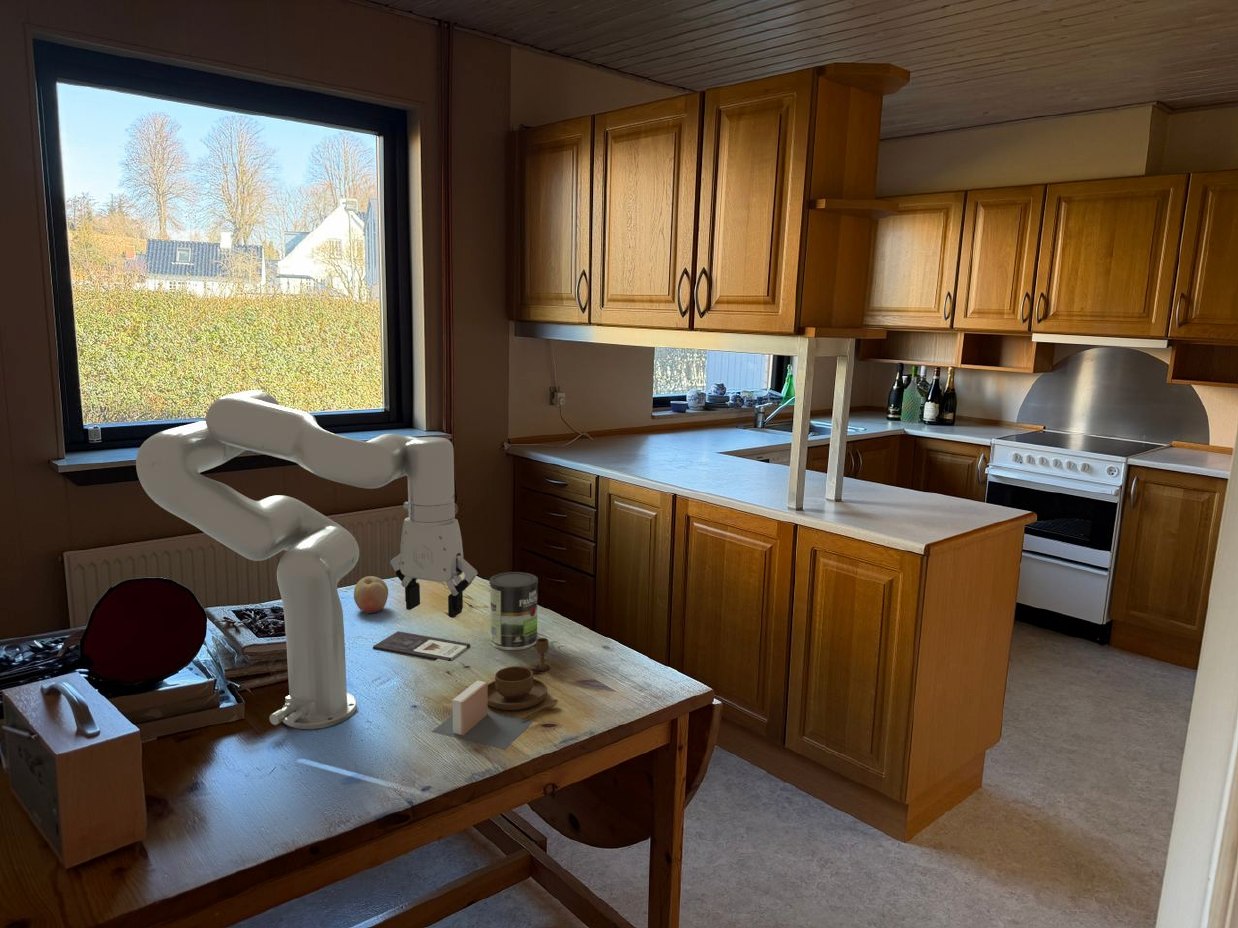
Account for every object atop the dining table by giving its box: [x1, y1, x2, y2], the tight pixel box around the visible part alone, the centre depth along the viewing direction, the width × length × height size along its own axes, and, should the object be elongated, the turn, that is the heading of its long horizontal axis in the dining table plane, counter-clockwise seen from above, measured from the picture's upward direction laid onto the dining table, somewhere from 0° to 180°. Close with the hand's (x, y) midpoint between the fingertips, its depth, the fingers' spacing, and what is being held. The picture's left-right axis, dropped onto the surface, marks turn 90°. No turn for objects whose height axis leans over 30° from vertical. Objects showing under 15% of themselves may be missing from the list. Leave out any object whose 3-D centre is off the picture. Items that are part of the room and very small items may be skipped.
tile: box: [452, 680, 489, 735], centre depth 142 cm, size 8×2×6 cm, turn 158°
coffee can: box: [489, 571, 539, 651], centre depth 178 cm, size 10×10×14 cm
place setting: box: [487, 637, 558, 719], centre depth 154 cm, size 18×20×6 cm
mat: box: [431, 710, 534, 750], centre depth 141 cm, size 10×14×1 cm
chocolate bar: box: [372, 630, 471, 662], centre depth 175 cm, size 9×1×18 cm
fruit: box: [353, 575, 389, 614], centre depth 194 cm, size 8×8×8 cm
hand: (434, 610), depth 141 cm, fingers open, 7 cm apart
